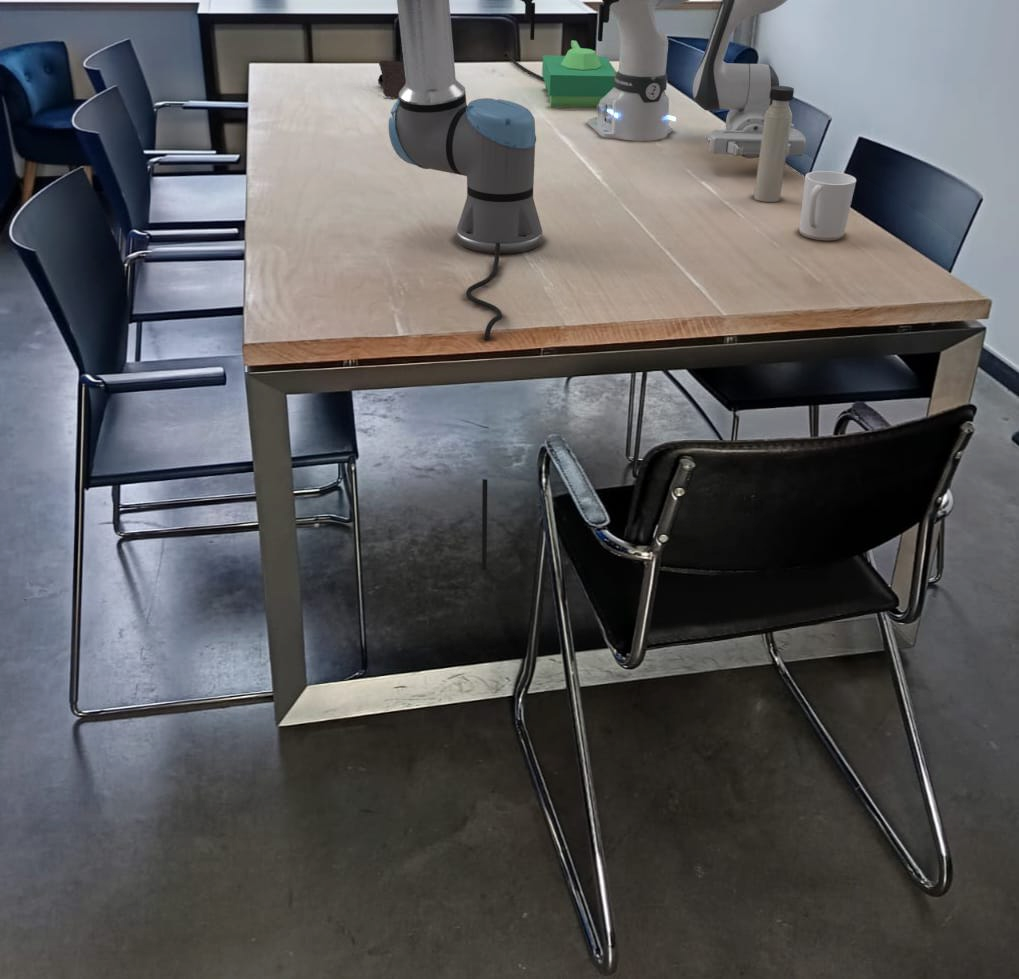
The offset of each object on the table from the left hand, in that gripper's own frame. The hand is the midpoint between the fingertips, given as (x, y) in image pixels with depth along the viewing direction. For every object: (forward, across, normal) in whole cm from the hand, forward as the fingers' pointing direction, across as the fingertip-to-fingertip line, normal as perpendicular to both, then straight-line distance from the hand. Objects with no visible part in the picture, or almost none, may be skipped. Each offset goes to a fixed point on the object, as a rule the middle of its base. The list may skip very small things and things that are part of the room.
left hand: (565, 39), depth 219 cm
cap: (+6, -41, +15) cm, 44 cm away
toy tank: (+27, -8, -78) cm, 83 cm away
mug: (+27, -46, +38) cm, 65 cm away
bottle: (+27, -41, +15) cm, 51 cm away
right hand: (+21, -42, +3) cm, 47 cm away
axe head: (+27, +39, -80) cm, 93 cm away
